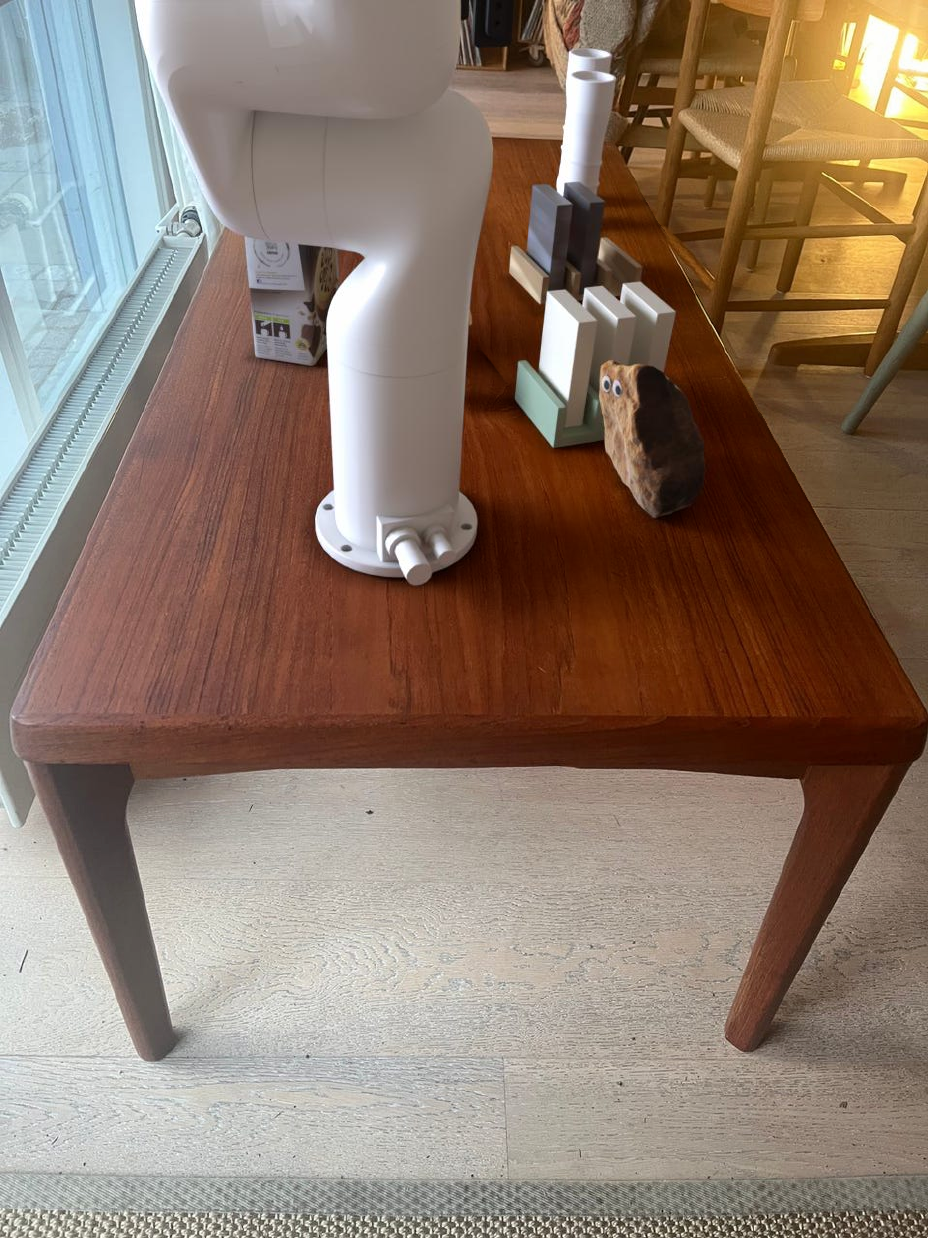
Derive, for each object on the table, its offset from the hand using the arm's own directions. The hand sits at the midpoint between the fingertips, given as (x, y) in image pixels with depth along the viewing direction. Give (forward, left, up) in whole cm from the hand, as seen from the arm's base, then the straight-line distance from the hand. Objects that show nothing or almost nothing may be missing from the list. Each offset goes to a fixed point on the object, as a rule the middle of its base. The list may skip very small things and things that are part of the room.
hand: (469, 32), depth 81 cm
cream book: (-16, -4, -27) cm, 32 cm away
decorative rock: (-27, -7, -29) cm, 40 cm away
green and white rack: (-16, -8, -28) cm, 33 cm away
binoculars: (+32, -29, -28) cm, 52 cm away
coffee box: (+5, +15, -28) cm, 33 cm away
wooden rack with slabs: (+10, -18, -28) cm, 35 cm away
